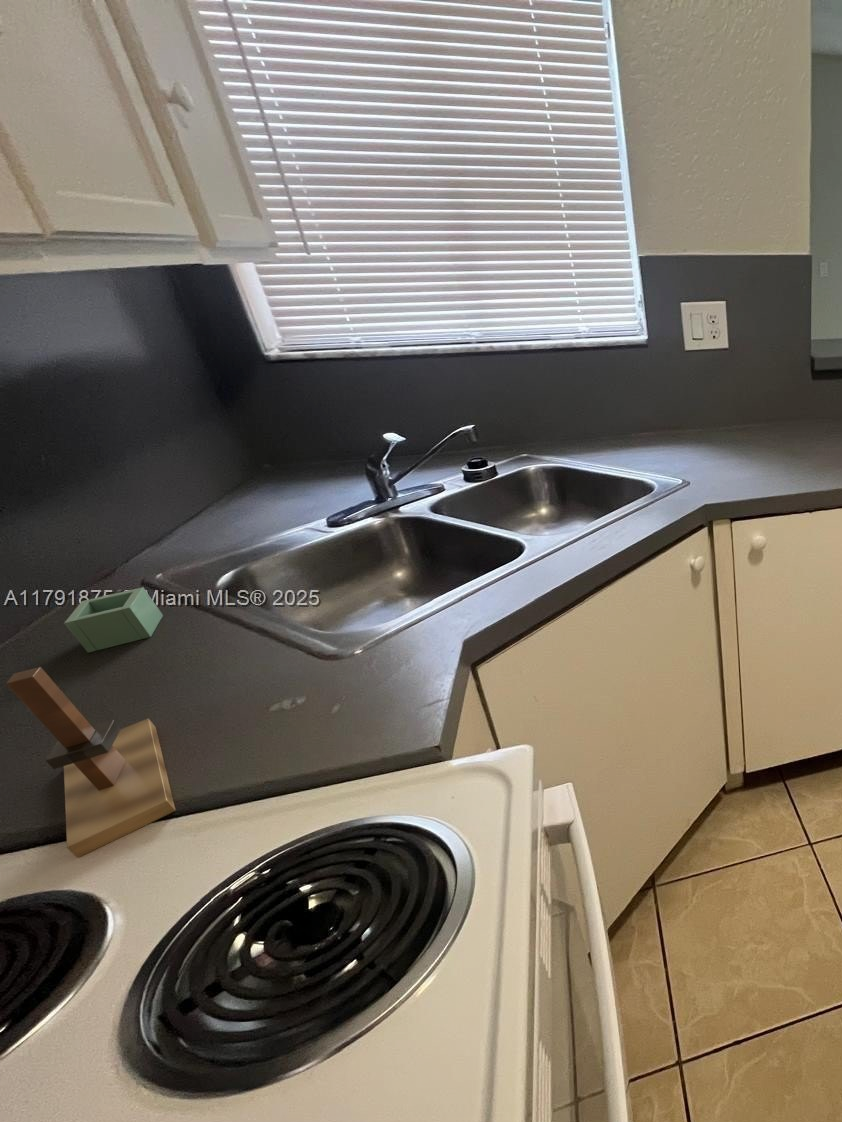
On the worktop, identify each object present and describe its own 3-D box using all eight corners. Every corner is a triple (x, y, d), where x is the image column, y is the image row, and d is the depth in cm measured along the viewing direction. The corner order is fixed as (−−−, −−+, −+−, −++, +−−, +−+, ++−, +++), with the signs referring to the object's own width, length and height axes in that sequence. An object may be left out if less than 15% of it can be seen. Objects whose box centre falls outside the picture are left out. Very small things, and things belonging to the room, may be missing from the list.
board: (72, 762, 68) (62, 752, 67) (156, 727, 72) (148, 718, 71) (77, 858, 57) (66, 847, 56) (176, 811, 61) (167, 800, 60)
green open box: (87, 653, 86) (63, 623, 84) (103, 630, 91) (81, 600, 89) (151, 637, 89) (129, 607, 86) (163, 615, 94) (143, 586, 92)
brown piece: (79, 796, 61) (-18, 694, 55) (93, 770, 64) (2, 671, 58) (132, 779, 63) (44, 678, 56) (143, 755, 66) (61, 656, 59)
